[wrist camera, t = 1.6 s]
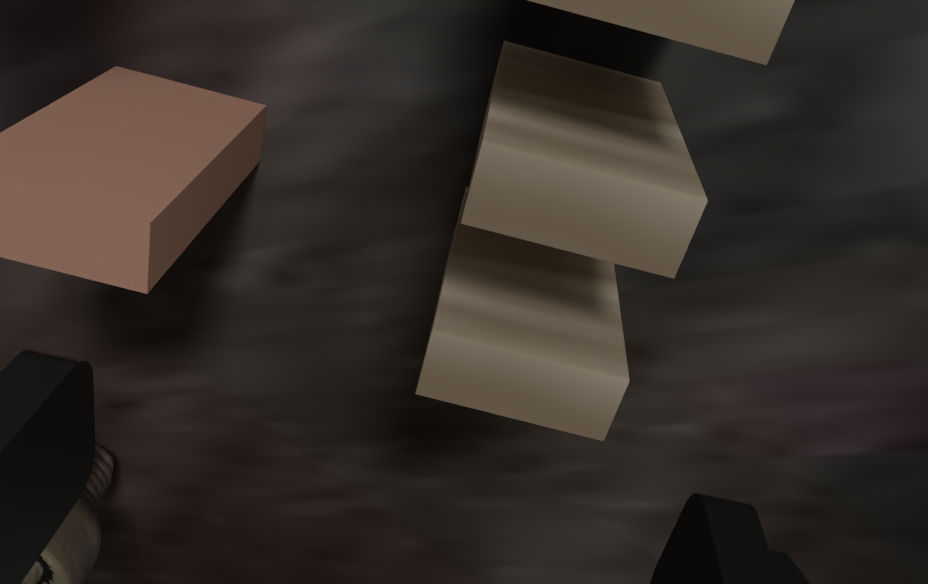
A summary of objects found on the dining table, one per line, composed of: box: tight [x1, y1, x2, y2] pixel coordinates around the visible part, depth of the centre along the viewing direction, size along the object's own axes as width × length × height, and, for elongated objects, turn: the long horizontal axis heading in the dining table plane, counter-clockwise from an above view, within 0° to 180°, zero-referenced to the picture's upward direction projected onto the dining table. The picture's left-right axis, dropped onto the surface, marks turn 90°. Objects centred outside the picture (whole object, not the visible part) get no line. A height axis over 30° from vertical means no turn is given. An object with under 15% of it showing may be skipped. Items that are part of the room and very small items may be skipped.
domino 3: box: [415, 187, 629, 441], centre depth 24 cm, size 2×5×9 cm, turn 77°
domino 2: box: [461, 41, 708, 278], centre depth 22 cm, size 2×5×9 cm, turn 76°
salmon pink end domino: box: [0, 66, 266, 294], centre depth 23 cm, size 2×5×9 cm, turn 77°
